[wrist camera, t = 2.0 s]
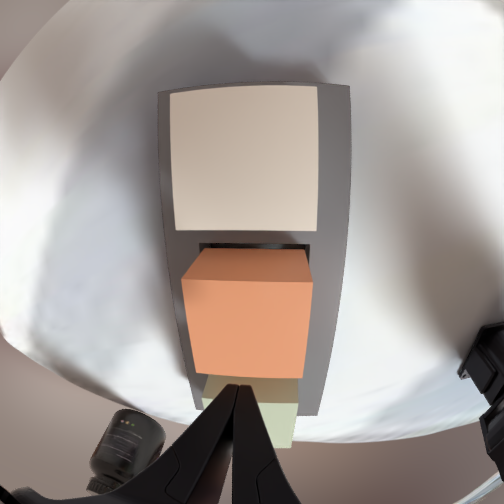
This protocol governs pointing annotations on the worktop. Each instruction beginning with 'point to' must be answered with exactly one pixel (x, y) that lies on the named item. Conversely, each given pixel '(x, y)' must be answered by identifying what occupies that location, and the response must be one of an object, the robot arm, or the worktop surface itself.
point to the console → (277, 236)
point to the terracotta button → (249, 311)
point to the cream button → (245, 158)
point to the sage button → (265, 402)
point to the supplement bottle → (124, 450)
